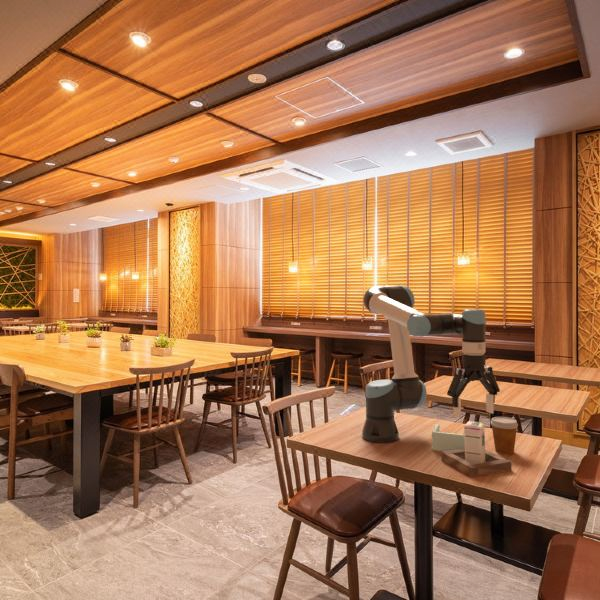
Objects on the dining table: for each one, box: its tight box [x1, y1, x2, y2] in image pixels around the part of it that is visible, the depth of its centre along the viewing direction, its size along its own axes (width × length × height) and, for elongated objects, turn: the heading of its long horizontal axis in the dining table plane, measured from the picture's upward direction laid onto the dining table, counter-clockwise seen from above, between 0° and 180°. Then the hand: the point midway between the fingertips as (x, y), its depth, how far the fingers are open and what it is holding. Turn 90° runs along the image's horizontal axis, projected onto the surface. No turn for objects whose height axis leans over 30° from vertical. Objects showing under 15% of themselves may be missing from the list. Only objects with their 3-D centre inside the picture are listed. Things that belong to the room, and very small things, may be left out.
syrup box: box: [463, 420, 486, 464], centre depth 152 cm, size 6×6×14 cm
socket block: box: [441, 449, 513, 478], centre depth 152 cm, size 16×16×3 cm
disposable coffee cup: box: [489, 416, 519, 456], centre depth 165 cm, size 10×10×12 cm
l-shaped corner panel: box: [431, 423, 465, 452], centre depth 171 cm, size 12×12×8 cm
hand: (473, 414), depth 153 cm, fingers open, 13 cm apart
